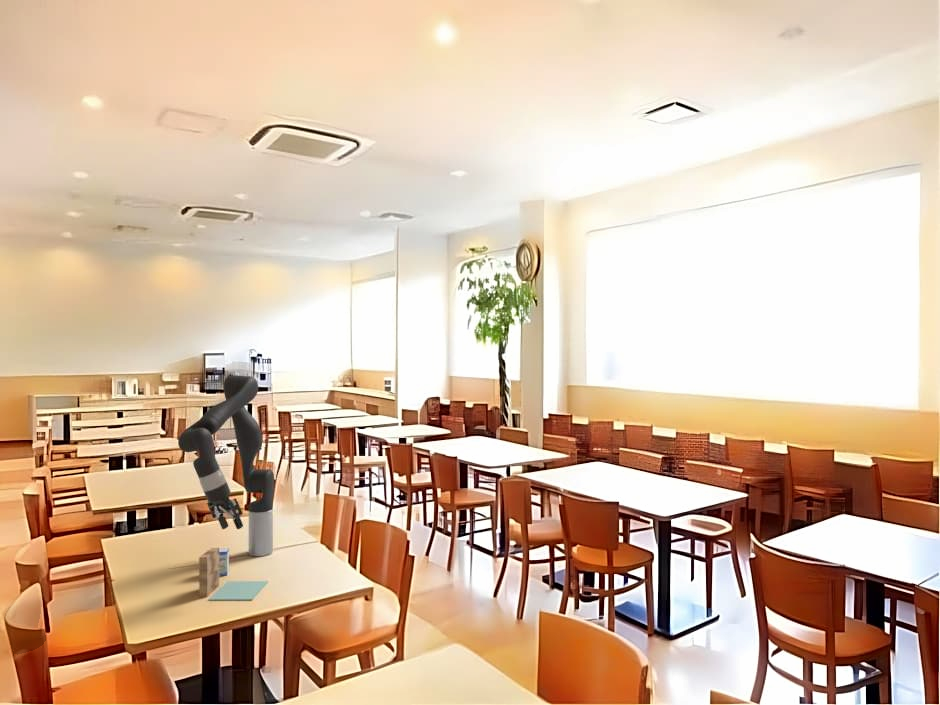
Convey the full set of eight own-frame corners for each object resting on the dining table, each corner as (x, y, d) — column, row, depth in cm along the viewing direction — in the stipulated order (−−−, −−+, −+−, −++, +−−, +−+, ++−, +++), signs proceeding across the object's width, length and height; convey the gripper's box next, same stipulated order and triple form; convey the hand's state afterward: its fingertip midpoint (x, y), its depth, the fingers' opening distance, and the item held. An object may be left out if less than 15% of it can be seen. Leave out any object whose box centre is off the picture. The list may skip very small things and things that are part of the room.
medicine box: (204, 577, 223) (204, 553, 223) (205, 573, 228) (205, 549, 228) (227, 575, 225) (227, 551, 225) (228, 571, 230) (228, 547, 230)
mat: (227, 582, 219) (227, 581, 219) (267, 582, 219) (267, 581, 219) (208, 600, 203) (208, 599, 203) (252, 600, 203) (252, 599, 203)
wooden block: (211, 585, 216) (211, 547, 216) (219, 585, 216) (219, 547, 216) (199, 597, 206) (199, 557, 206) (207, 597, 206) (207, 557, 206)
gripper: (236, 478, 208) (254, 522, 211) (211, 480, 216) (229, 522, 219) (217, 490, 202) (236, 534, 205) (193, 491, 210) (211, 533, 213)
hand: (232, 528), depth 212 cm, fingers open, 8 cm apart
